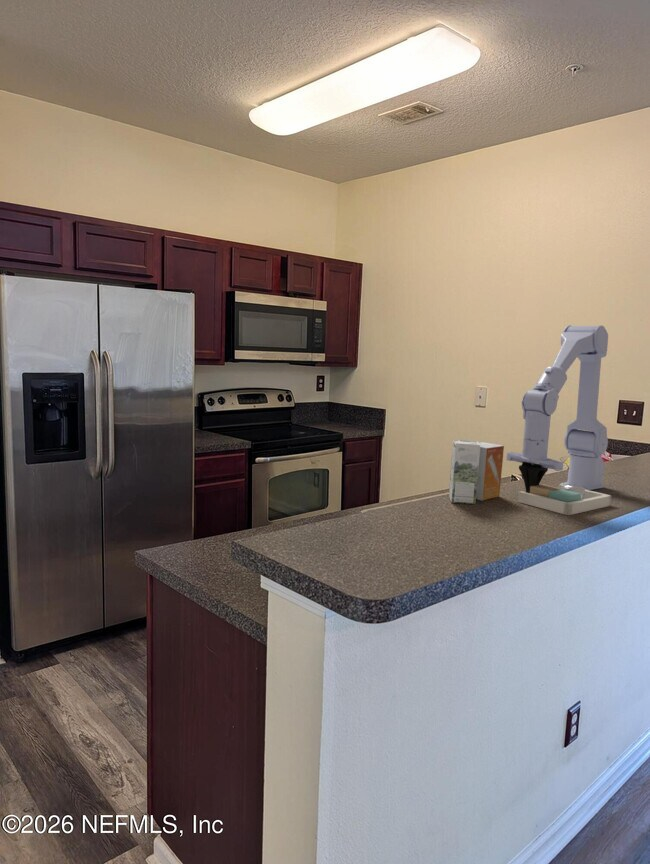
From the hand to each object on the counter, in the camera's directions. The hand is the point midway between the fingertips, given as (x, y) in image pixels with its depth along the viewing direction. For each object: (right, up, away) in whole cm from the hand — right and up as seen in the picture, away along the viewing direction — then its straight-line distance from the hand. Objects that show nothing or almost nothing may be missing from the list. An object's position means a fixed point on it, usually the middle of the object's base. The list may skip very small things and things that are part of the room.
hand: (530, 494), depth 149 cm
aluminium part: (+10, -2, 0) cm, 10 cm away
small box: (-12, -1, +2) cm, 12 cm away
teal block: (+5, -3, -7) cm, 9 cm away
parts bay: (+7, -2, -2) cm, 8 cm away
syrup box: (-18, -1, -4) cm, 18 cm away
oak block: (+2, -2, -3) cm, 4 cm away
